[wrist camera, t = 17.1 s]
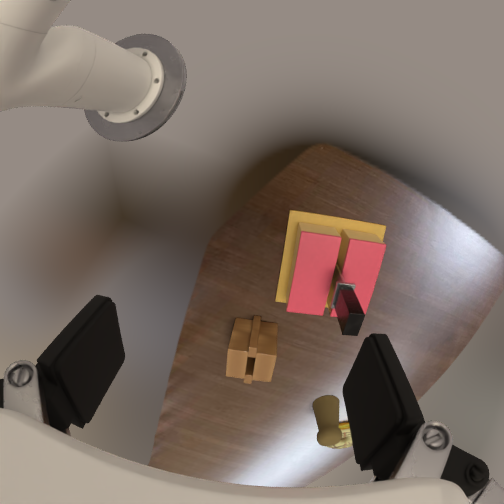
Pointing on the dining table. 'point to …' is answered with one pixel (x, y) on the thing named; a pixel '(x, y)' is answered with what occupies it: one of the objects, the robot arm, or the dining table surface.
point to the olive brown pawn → (327, 420)
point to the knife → (346, 304)
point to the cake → (327, 260)
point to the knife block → (252, 350)
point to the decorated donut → (344, 437)
